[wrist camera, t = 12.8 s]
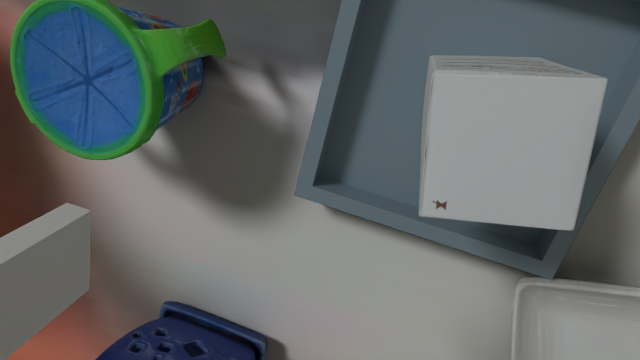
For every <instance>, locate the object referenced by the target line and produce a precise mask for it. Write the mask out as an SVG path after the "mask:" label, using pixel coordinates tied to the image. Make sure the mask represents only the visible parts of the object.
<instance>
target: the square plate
mask: <svg viewBox="0 0 640 360" xmlns="http://www.w3.org/2000/svg"><path fill="white" fill-rule="evenodd" d="M509 360H640V287H635V286H626V285H617V284H609V283H600V282H591V281H581V280H571V279H561V278H552V280H550V279H547V278H544V277H535V276H526V277H521V278H519V279H518V280H517V282H516V284H515V289H514V295H513V304H512V314H511V333H510V357H509Z"/></svg>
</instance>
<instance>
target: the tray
mask: <svg viewBox="0 0 640 360" xmlns="http://www.w3.org/2000/svg"><path fill="white" fill-rule="evenodd" d="M433 55H451V56H504V57H539V58H543V59H546V60H548V61H551V62H554V63H558V64H561V65H564V66H567V67H570V68H574V69H578V70H581V71H585V72H588V73H591V74H595V75H598V76H601V77H604V78H607V79H608V83H607V87H606V91H605V96H604V100H603V105H602V109H601V114H600V118H599V123H598V128H597V132H596V137H595V141H594V146H593V150H592V154H591V159H590V163H589V168H588V172H587V176H586V181H585V185H584V190H583V194H582V199H581V203H580V207H579V211H578V215H577V219H576V224H575V227H574V230H572V231H568V230H555V229H545V228H535V227H524V226H514V225H504V224H494V223H483V222H474V221H463V220H451V219H438V218H425V217H420V216H419V189H420V165H421V136H422V119H423V105H424V95H425V87H426V78H427V70H428V63H429V57H430V56H433ZM639 120H640V0H342V2H341V6H340V11H339V15H338V19H337V23H336V27H335V31H334V35H333V39H332V43H331V47H330V51H329V55H328V60H327V64H326V68H325V72H324V76H323V80H322V84H321V88H320V92H319V96H318V100H317V104H316V109H315V113H314V117H313V121H312V125H311V129H310V133H309V137H308V141H307V145H306V149H305V153H304V158H303V162H302V166H301V170H300V174H299V178H298V182H297V186H296V190H295V194H294V195H295V196H298V197H301V198H304V199H307V200H310V201H313V202H317V203H320V204H323V205H326V206H329V207H332V208H335V209H338V210H341V211H344V212H347V213H350V214H353V215H356V216H359V217H362V218H365V219H368V220H371V221H374V222H377V223H380V224H383V225H386V226H389V227H392V228H395V229H398V230H401V231H404V232H407V233H410V234H413V235H416V236H420V237H423V238H426V239H429V240H432V241H435V242H438V243H441V244H444V245H447V246H450V247H453V248H456V249H459V250H462V251H465V252H468V253H471V254H474V255H477V256H480V257H483V258H486V259H489V260H492V261H495V262H498V263H501V264H504V265H507V266H510V267H513V268H516V269H520V270H523V271H526V272H529V273H532V274H535V275H538V276H541V277H544V278H547V279H550V280H552V278H553V276H554V275H555V273H556V271H557V269H558V267H559V265H560V264H561V262H562V260H563V258H564V256H565V255H566V253H567V251H568V249H569V247H570V245H571V244H572V242H573V240H574V238H575V236H576V235H577V233H578V231H579V229H580V227H581V225H582V224H583V222H584V220H585V218H586V216H587V214H588V213H589V211H590V209H591V207H592V205H593V204H594V202H595V200H596V198H597V196H598V194H599V193H600V191H601V189H602V187H603V185H604V184H605V182H606V180H607V178H608V176H609V174H610V173H611V171H612V169H613V167H614V165H615V164H616V162H617V160H618V158H619V156H620V154H621V153H622V151H623V149H624V147H625V145H626V144H627V142H628V140H629V138H630V136H631V134H632V133H633V131H634V129H635V127H636V125H637V123H638V122H639Z"/></svg>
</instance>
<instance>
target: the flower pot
mask: <svg viewBox="0 0 640 360" xmlns="http://www.w3.org/2000/svg"><path fill="white" fill-rule="evenodd" d="M266 349H267V340H266V339H265V338H264V337H263V336H262V335H260V334H258V333H255V332H253V331H251V330H248V329H246V328H243V327H241V326H238V325H236V324H233V323H231V322H228V321H226V320H223V319H221V318H219V317H216V316H214V315H211V314H209V313H206V312H204V311H201V310H198V309H196V308H193V307H191V306H188V305H185V304H183V303H179V302H172V301H169V302H165V303H163V304H162V306H161V311H160V317H159V319H157V320H154V321H151V322H149V323H146V324H144V325H142V326H140V327H138V328H136V329H135V330H133V331H131V332H129V333H128V334H126V335H125V336H123V337H122V338H120V339H119V340H118V341H116V342H115V343H114V344H112V345H111V346H110V347H109V348H108V349H106V350H105V351H104V352H103V353H102V354H101V355H100V356H99V357H98V358H97V359H96V360H264V357H265V353H266Z"/></svg>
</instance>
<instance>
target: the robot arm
mask: <svg viewBox="0 0 640 360" xmlns="http://www.w3.org/2000/svg"><path fill="white" fill-rule="evenodd" d="M90 246H91V210H88V209H85V208H82V207H79V206H76V205H73V204H70V203H65V204H63V205H61V206H60V207H58V208H56V209H54V210H52V211H50V212H48V213H46V214H44V215H43V216H41V217H39V218H37V219H35V220H33V221H31V222H29V223H27V224H26V225H24V226H22V227H20V228H18V229H16V230H14V231H12V232H10V233H8V234H7V235H5V236H3V237H1V238H0V360H5V359H6V358H8V357H9V356H10V355H11V354H12V353H14V352H15V351H16V350H17V349H18V348H20V347H21V346H22V345H23V344H24V343H26V342H27V341H28V340H29V339H30V338H32V337H33V336H34V335H35V334H36V333H38V332H39V331H40V330H41V329H42V328H44V327H45V326H46V325H47V324H49V323H50V322H51V321H52V320H53V319H55V318H56V317H57V316H58V315H59V314H61V313H62V312H63V311H64V310H65V309H67V308H68V307H69V306H70V305H71V304H73V303H74V302H75V301H76V300H77V299H79V298H80V297H81V296H82V295H83V294H85V293H86V292H87V291H88V290H89V289H90Z"/></svg>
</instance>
